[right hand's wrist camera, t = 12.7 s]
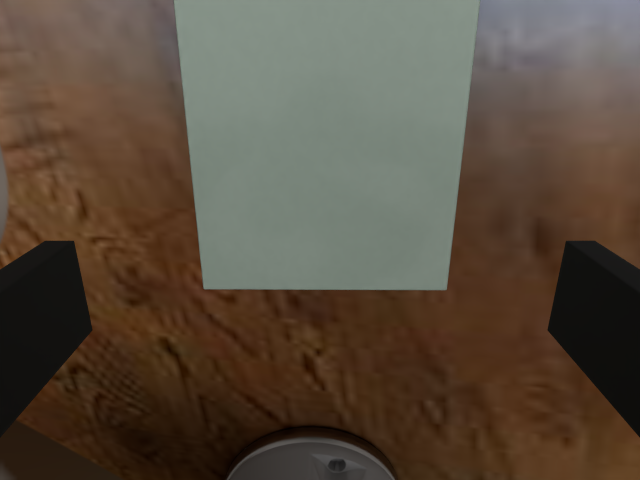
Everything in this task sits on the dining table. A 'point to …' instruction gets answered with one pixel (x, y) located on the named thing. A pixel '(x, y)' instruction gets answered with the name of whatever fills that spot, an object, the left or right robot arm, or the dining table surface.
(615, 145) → the dining table surface
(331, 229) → the cabinet
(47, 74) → the dining table surface
